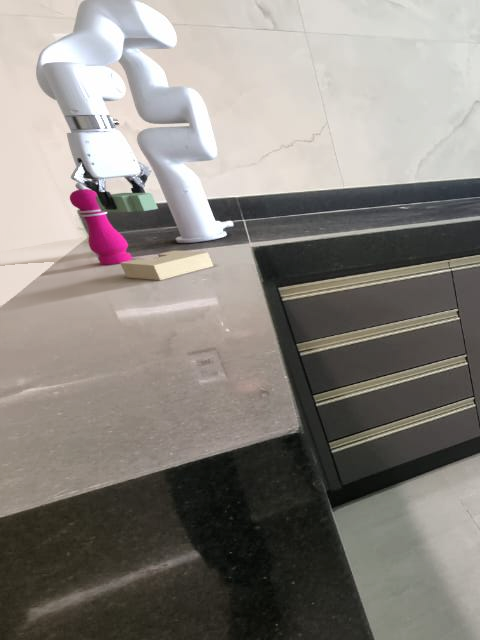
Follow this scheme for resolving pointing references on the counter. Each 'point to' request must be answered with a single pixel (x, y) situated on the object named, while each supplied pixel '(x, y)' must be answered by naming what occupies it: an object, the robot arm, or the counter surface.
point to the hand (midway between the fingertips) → (127, 206)
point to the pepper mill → (100, 228)
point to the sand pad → (167, 265)
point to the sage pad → (130, 202)
